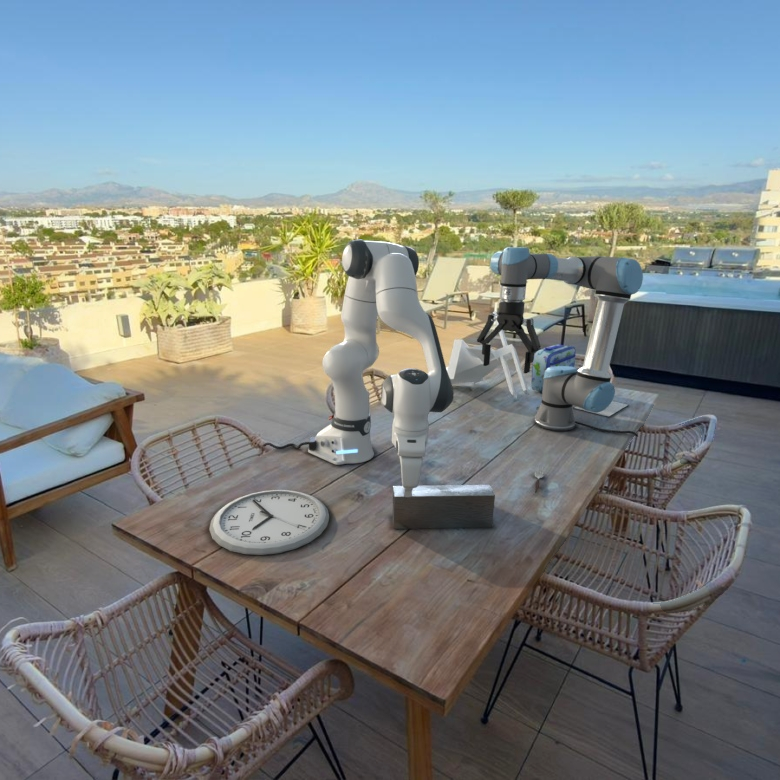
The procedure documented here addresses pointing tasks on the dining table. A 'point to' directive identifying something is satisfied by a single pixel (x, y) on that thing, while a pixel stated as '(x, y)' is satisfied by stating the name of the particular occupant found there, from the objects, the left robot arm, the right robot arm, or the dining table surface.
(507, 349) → the white plastic object
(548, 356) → the lunch box
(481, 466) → the dining table surface
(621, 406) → the invitation card
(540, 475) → the fork
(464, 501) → the bar
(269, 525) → the wall clock
